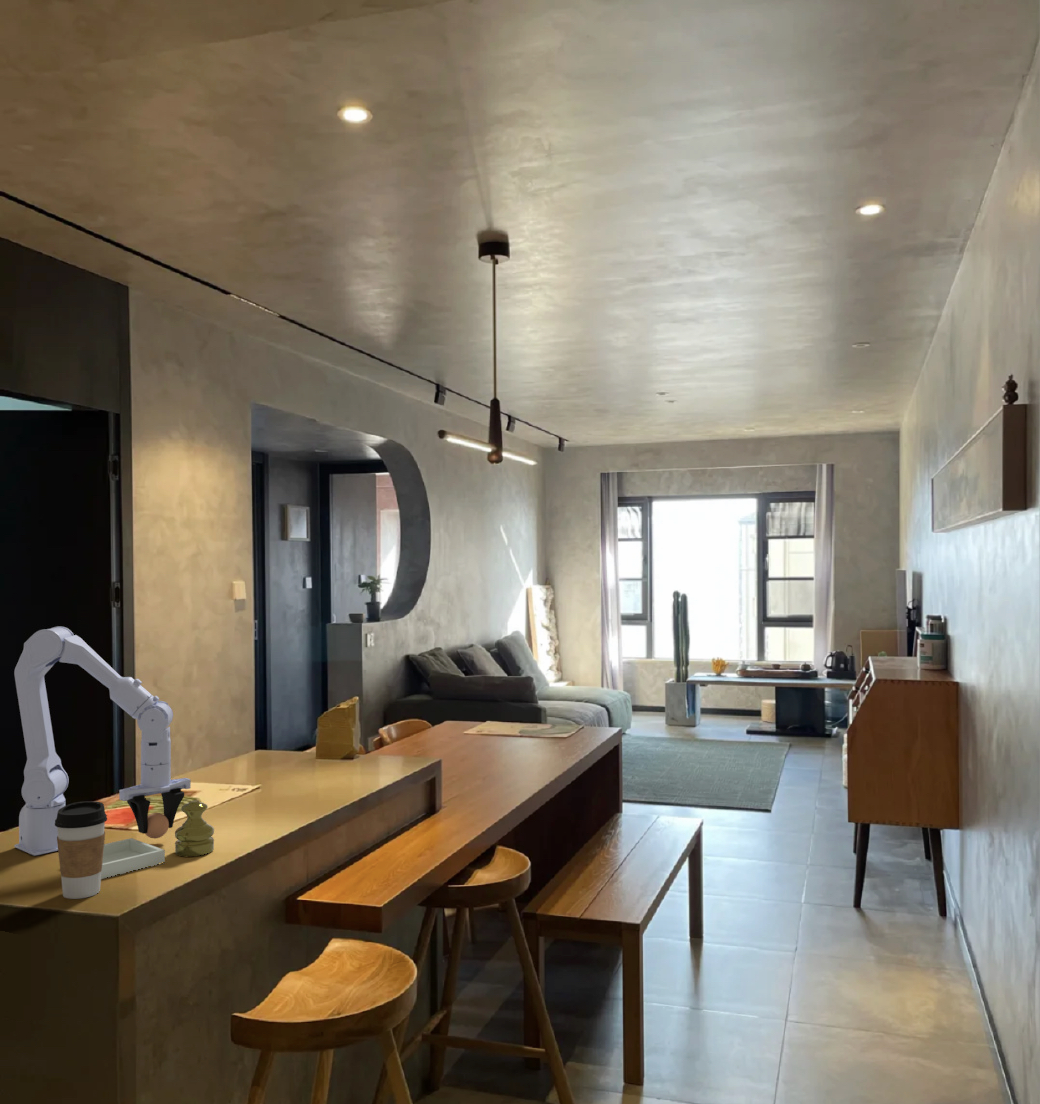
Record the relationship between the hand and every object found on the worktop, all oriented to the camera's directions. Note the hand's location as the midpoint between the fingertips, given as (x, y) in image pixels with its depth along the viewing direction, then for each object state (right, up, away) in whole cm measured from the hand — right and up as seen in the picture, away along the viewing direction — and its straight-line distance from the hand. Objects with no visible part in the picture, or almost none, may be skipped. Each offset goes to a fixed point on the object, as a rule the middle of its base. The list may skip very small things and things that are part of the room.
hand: (155, 829), depth 205 cm
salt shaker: (+10, -3, -6) cm, 12 cm away
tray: (-2, -3, -14) cm, 14 cm away
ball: (0, -2, 0) cm, 2 cm away
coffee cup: (-2, -3, -30) cm, 30 cm away
